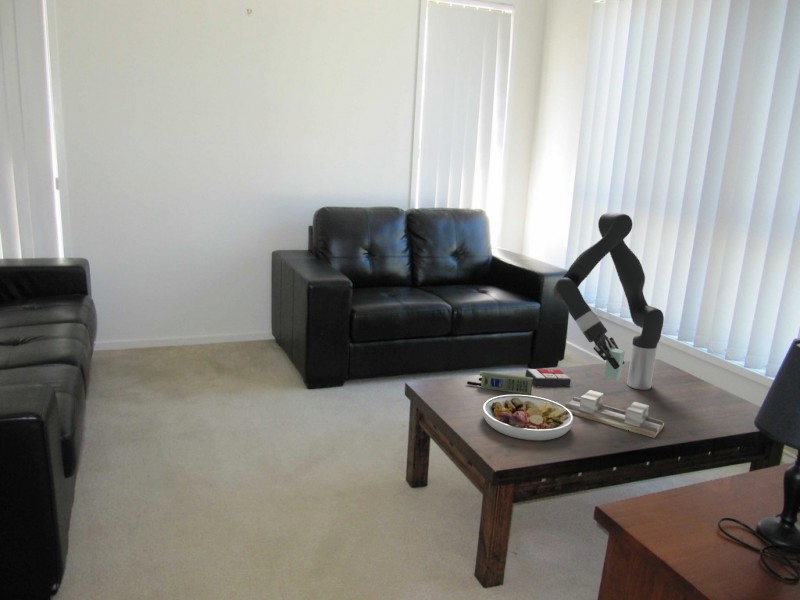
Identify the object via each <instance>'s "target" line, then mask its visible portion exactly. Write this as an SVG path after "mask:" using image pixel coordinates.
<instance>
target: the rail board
mask: <svg viewBox="0 0 800 600" xmlns="http://www.w3.org/2000/svg"><path fill="white" fill-rule="evenodd" d="M603 402H604V393H603V392H599V391H595V390H591V389H590V390H589V389H588V391H587V392H585V393H584V394H583V395H581V396H580V397H576V396H573V397H572V400H570V401H569V402H565V404H564V405H565V406H564V407H565V408H567V409H568V410H569V411H570V412H571V413H572V415H573V414H574V415H575V416H577V417H580V418H584V419H588V420H591V421H595V422H598V423H601V424H605V425H608V426H612V427H615V428H619V429H622V430H625V431H628V430H629V432H631V433H632V432H633V433H636V434H640V435H642V436H643V435H644V436H646V437H649V438H654V439H655V438H656V436H657V435H658V434H659V433H660V432H661V431H662V430H663V428H664V427H665V423H664V420H661V419H657V418H654V417H649V409H650V408H649V407H650V405H648V404H645V403H641V402H638V401H633V402H632V403H631V405H628V407H626V409H625V410H624V409H621V408H616V407H613V406H609V405H606V404H603ZM574 415H573V416H574Z"/></svg>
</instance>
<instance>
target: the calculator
mask: <svg viewBox="0 0 800 600" xmlns="http://www.w3.org/2000/svg"><path fill="white" fill-rule="evenodd" d="M524 377H531V378H533V382H532V386H534V387H535V386H542V387H557V386H556V385H570V386H571V381H572V380H571V378H570V377H569V376H568V375H567V374H565V372H563V371H562V370H560V369H550V368H549V369H547V368H546V369H545V368H536V369H534V368H527V369H526V370H525V376H524ZM553 385H555V386H553Z"/></svg>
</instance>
